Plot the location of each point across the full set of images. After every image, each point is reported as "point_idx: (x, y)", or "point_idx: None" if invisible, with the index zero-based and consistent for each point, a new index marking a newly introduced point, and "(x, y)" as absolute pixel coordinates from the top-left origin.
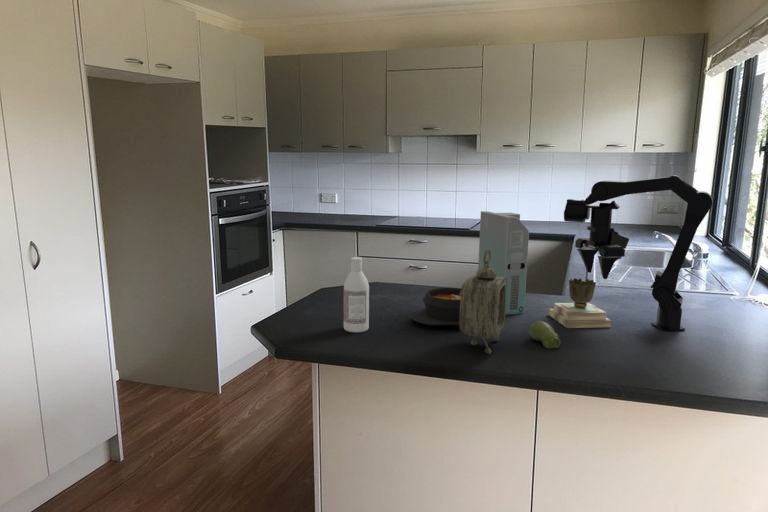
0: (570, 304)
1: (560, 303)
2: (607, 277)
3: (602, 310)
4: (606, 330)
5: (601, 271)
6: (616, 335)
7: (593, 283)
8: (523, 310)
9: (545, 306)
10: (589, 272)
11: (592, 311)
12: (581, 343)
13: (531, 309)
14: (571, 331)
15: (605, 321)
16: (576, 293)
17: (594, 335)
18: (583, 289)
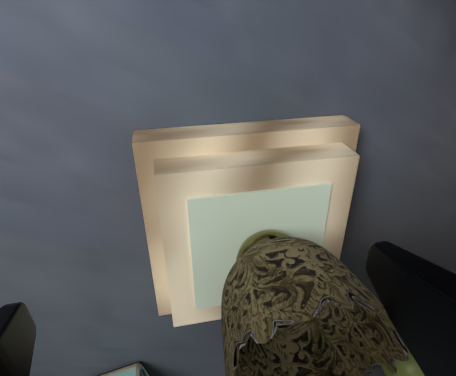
0: (210, 277)
1: (178, 306)
2: (398, 247)
3: (320, 160)
4: (375, 149)
5: (420, 355)
6: (434, 136)
7: (326, 300)
8: (139, 369)
9: (6, 286)
10: (31, 316)
11: (327, 213)
12: (450, 262)
13: (77, 336)
14: (353, 263)
15: (352, 148)
16: (329, 340)
17: (408, 209)
18: (370, 342)
